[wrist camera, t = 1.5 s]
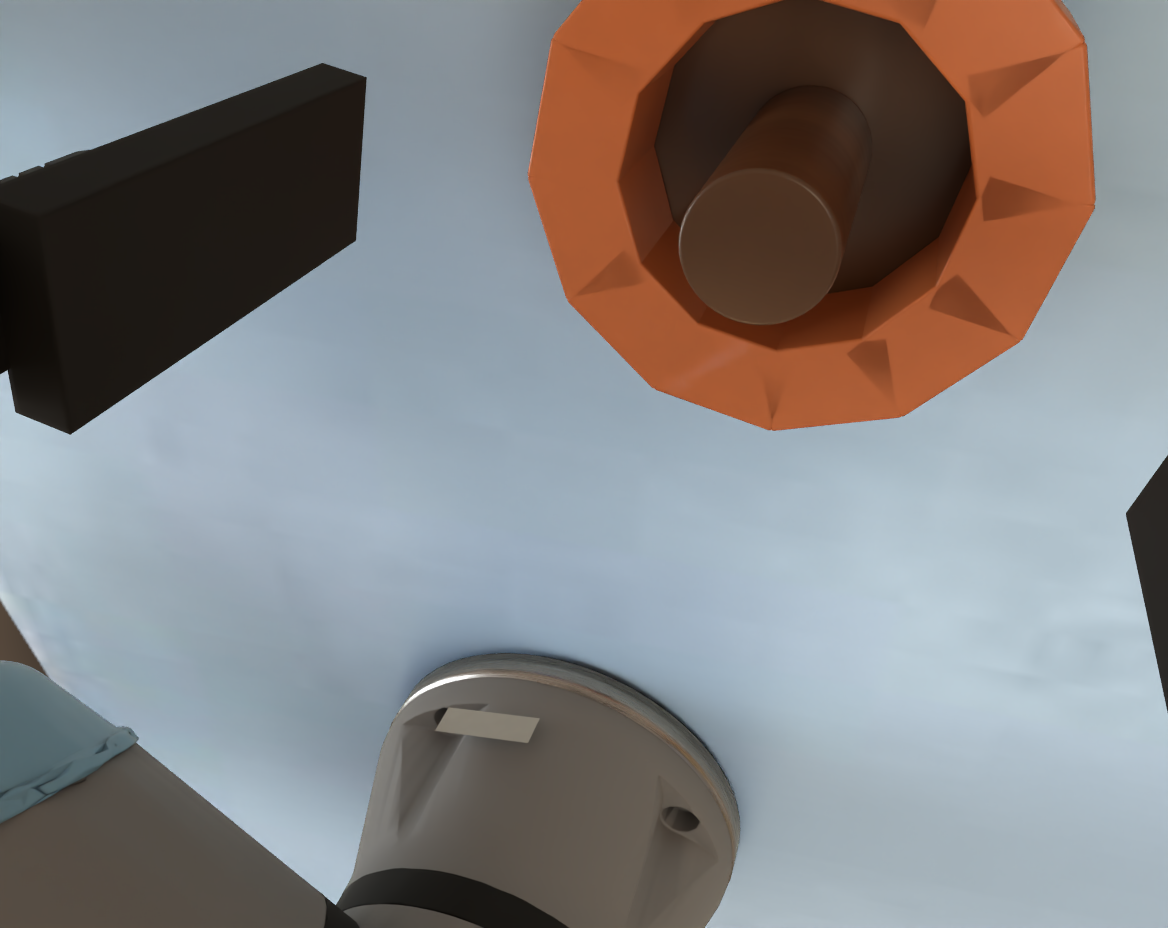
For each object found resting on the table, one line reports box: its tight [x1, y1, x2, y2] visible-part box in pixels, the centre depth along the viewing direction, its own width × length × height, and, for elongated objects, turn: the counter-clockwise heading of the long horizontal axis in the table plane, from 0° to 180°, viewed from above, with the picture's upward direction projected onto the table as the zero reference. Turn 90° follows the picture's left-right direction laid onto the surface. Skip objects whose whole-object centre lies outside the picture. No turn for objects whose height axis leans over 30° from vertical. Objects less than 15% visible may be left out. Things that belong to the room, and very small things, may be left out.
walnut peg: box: [654, 0, 972, 325], centre depth 20 cm, size 8×8×10 cm
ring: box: [528, 0, 1096, 431], centre depth 21 cm, size 11×11×3 cm
